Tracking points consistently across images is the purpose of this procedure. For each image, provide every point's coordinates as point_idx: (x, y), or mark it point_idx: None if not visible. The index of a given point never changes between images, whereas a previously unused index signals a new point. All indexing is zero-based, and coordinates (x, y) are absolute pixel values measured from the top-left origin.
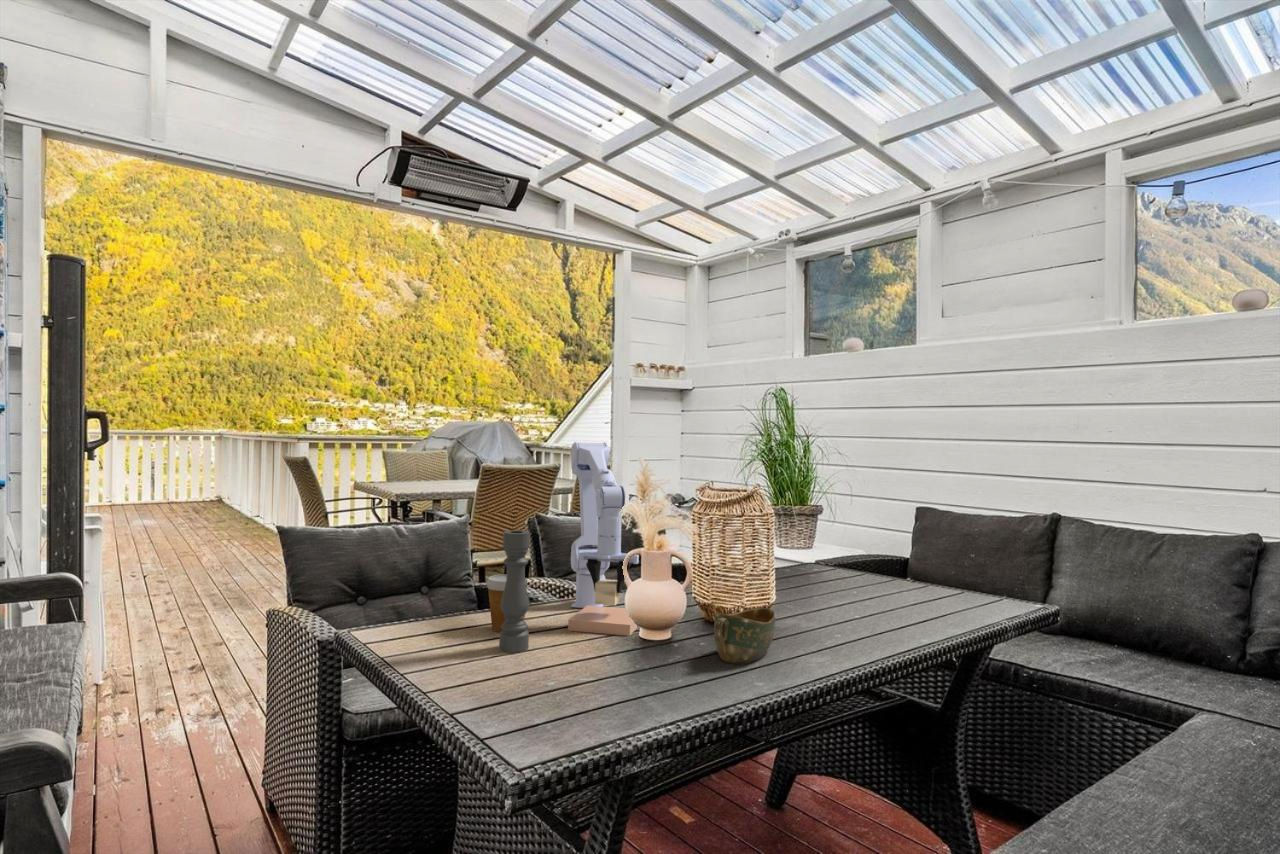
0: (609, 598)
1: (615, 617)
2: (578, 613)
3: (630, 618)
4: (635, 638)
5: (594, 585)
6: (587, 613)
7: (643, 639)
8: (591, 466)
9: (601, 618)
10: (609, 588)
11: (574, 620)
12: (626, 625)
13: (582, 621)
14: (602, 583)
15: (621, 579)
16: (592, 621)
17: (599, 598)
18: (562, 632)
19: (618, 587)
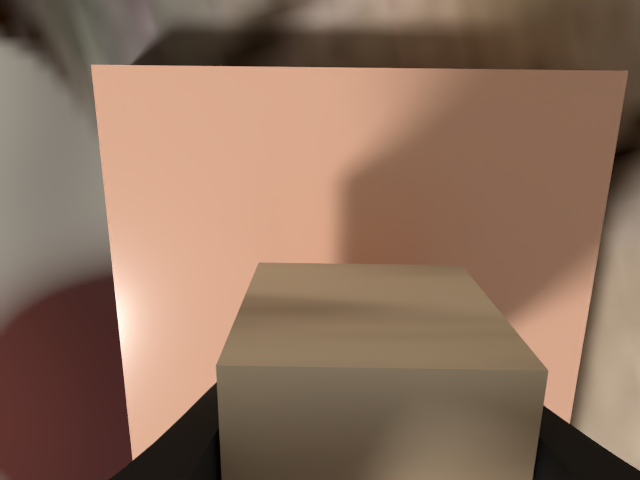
0: (312, 285)
1: (271, 255)
2: (578, 285)
3: (153, 257)
4: (68, 17)
5: (550, 414)
6: (509, 305)
7: (7, 9)
8: None
9: (368, 192)
10: (312, 334)
11: (573, 71)
12: (124, 65)
13: (501, 69)
14: (430, 377)
15: (114, 475)
16: (417, 77)
17: (426, 285)
18: (615, 10)
19: (207, 409)
